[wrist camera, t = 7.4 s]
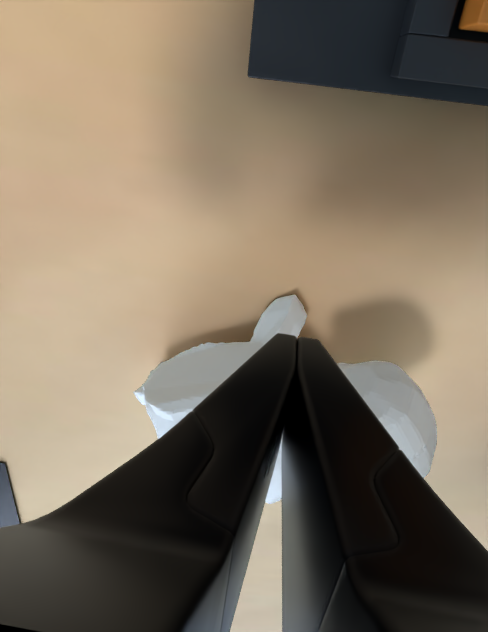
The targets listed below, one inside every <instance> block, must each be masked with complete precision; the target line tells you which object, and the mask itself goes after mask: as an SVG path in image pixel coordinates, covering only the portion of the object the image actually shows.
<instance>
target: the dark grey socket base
mask: <svg viewBox="0 0 488 632" xmlns="http://www.w3.org/2000/svg"><path fill="white" fill-rule="evenodd" d="M464 3H465V0H254V11H253V22H252V32H251V43H250V54H249V65H248V77H251V78H259V79H267V80H275V81H284V82H292V83H300V84H309V85H317V86H325V87H333V88H342V89H350V90H358V91H367V92H375V93H383V94H392V95H400V96H408V97H416V98H425V99H433V100H441V101H450V102H458V103H466V104H474V105H483V106H488V33H486V32H477V31H467V30H459V29H458V24H459V21H460V17H461V14H462V10H463V7H464Z"/></svg>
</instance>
